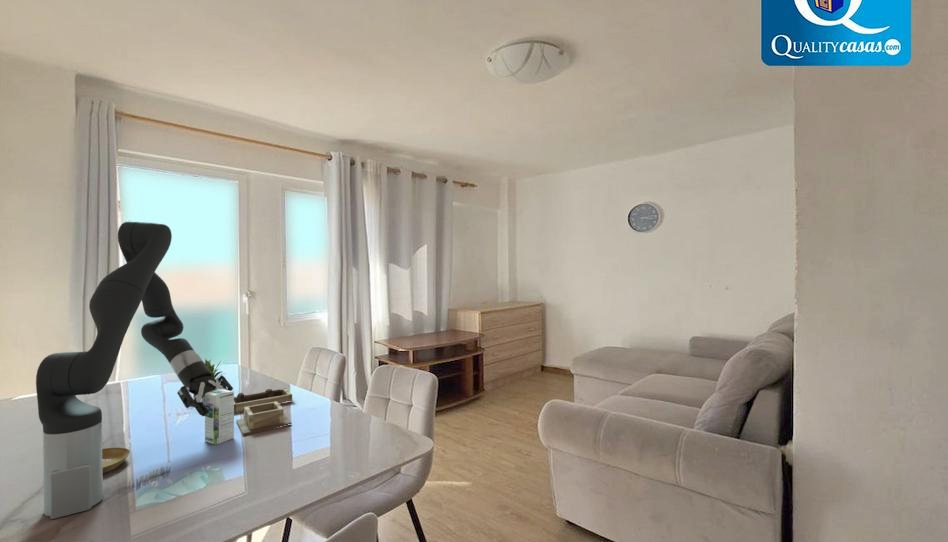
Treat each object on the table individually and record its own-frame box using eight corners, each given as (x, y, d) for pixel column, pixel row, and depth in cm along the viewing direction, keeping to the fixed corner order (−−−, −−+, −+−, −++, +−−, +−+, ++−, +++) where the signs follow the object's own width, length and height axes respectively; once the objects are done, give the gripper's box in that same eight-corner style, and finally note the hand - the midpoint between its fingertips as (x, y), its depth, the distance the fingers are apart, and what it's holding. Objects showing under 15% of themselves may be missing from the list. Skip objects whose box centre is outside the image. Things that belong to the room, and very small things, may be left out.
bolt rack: (292, 402, 159) (292, 394, 159) (232, 413, 147) (232, 405, 147) (285, 395, 168) (285, 388, 168) (228, 405, 156) (228, 397, 156)
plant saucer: (133, 469, 107) (133, 459, 107) (51, 491, 97) (51, 480, 97) (127, 451, 118) (127, 442, 117) (53, 469, 107) (53, 459, 107)
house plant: (175, 401, 161) (174, 359, 161) (207, 391, 174) (207, 352, 174) (203, 405, 157) (203, 361, 157) (234, 394, 170) (234, 354, 170)
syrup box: (203, 441, 123) (203, 393, 123) (223, 434, 129) (223, 387, 128) (215, 445, 121) (214, 395, 121) (235, 438, 126) (234, 390, 126)
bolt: (280, 383, 163) (237, 390, 153) (284, 392, 160) (240, 400, 150) (278, 394, 166) (236, 402, 156) (282, 403, 162) (238, 412, 152)
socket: (291, 425, 136) (291, 409, 136) (242, 436, 127) (242, 418, 127) (281, 413, 147) (281, 398, 147) (236, 422, 139) (236, 406, 139)
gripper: (173, 366, 120) (203, 409, 117) (217, 355, 134) (246, 394, 130) (160, 382, 122) (190, 426, 118) (205, 371, 135) (233, 409, 132)
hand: (219, 409), depth 124 cm, fingers open, 8 cm apart
